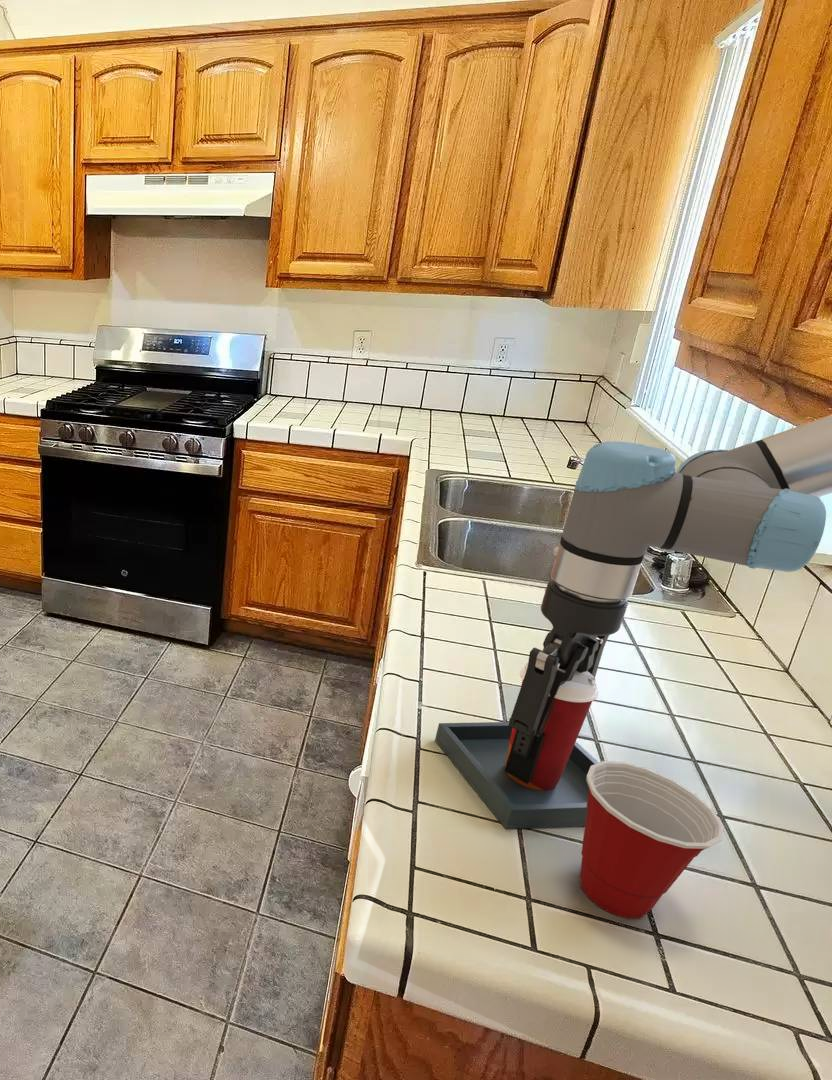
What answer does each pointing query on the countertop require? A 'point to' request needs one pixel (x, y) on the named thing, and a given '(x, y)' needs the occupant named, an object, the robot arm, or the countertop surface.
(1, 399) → the countertop surface
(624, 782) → the plastic cup
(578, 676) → the paper cup
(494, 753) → the tray
